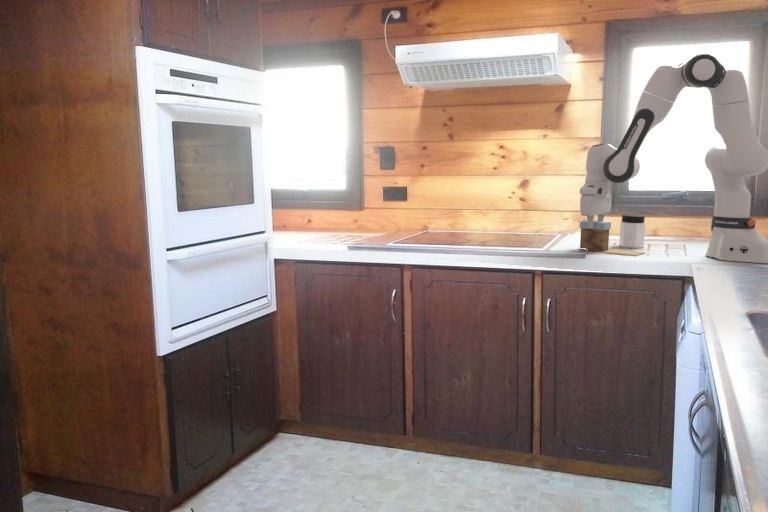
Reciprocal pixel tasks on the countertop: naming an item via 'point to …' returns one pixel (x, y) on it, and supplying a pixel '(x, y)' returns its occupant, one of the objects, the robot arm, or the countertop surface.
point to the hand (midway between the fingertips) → (595, 226)
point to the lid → (596, 225)
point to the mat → (623, 252)
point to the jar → (632, 231)
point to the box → (594, 239)
